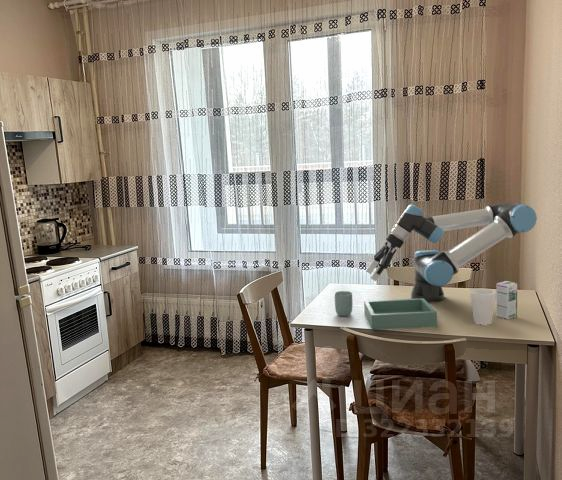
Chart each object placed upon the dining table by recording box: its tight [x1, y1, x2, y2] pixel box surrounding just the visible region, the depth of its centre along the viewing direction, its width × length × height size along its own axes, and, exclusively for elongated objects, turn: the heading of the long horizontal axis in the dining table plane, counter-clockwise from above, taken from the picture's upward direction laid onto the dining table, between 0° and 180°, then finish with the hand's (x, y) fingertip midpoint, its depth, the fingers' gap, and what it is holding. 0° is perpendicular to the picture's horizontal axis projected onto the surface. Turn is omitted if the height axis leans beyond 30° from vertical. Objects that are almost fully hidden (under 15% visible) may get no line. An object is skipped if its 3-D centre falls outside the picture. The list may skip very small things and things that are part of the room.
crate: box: [363, 298, 438, 330], centre depth 212 cm, size 26×20×6 cm
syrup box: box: [495, 280, 518, 320], centre depth 208 cm, size 6×6×14 cm
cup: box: [334, 290, 354, 318], centre depth 222 cm, size 8×8×10 cm
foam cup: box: [469, 287, 497, 326], centre depth 202 cm, size 10×9×13 cm
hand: (370, 276), depth 226 cm, fingers open, 13 cm apart
